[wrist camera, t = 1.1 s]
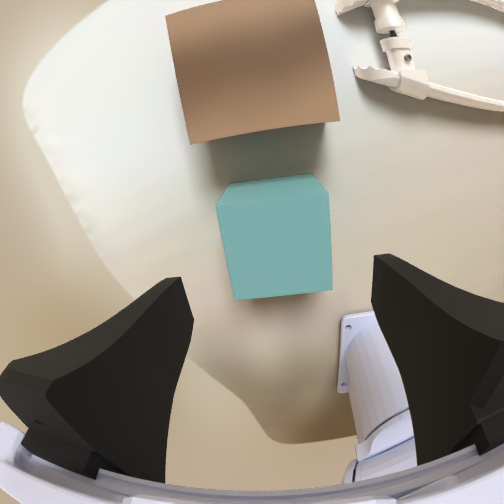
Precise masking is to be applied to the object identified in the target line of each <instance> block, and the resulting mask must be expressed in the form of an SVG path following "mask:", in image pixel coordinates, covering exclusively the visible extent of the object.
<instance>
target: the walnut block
mask: <svg viewBox="0 0 504 504" xmlns="http://www.w3.org/2000/svg"><path fill="white" fill-rule="evenodd" d="M165 17H166V23H167V29H168V35H169V40H170V46H171V51H172V57H173V62H174V67H175V73H176V78H177V83H178V88H179V93H180V98H181V103H182V108H183V112H184V117H185V122H186V127H187V131H188V136H189V141H190V145H192V144H197V143H201V142H206V141H210V140H215V139H220V138H225V137H230V136H235V135H240V134H245V133H251V132H257V131H263V130H269V129H276V128H283V127H290V126H298V125H306V124H315V123H324V122H335V121H340V117H339V110H338V104H337V98H336V93H335V87H334V82H333V76H332V71H331V66H330V61H329V57H328V52H327V48H326V43H325V39H324V35H323V31H322V27H321V23H320V19H319V15H318V11H317V8H316V4H315V0H222V1H218V2H213V3H209V4H205V5H201V6H197V7H193V8H190V9H186V10H183V11H179V12H176V13H173V14H170V15H167V16H165Z"/></svg>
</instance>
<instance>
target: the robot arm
mask: <svg viewBox="0 0 504 504" xmlns="http://www.w3.org/2000/svg"><path fill="white" fill-rule="evenodd" d="M371 303H372V306H373V310H374V311H370V312H363V313H356V314H349V315H345V316H344V317H343V318H342V320H341V339H340V357H339V371H338V384H337V391H338V393H341V394H342V393H349V398H350V403H351V408H352V413H353V418H354V423H355V428H356V433H357V438H358V441H359V444H358V445H356V446H355V449H356V454H357V459H355V460H353V461H351V462H350V463H349V464H348V466H347V468H346V471H345V474H344V476H343V479H342V483H341V484H339V485H332V486H325V487H316V488H307V489H295V490H278V491H232V490H215V489H203V488H193V487H185V486H177V485H171V484H165V465H166V449H167V437H168V429H169V421H170V414H171V409H172V403H173V397H174V392H175V389H176V386H177V382H178V379H179V376H180V373H181V370H182V367H183V363H184V360H185V357H186V354H187V351H188V348H189V345H190V341H191V336H192V330H193V323H194V318H193V315H192V312H191V309H190V305H189V302H188V299H187V296H186V293H185V289H184V286H183V283H182V279H181V277H173V278H166V279H164V280H162V281H160V282H159V283H157V284H156V285H155V286H153V287H152V288H151V289H149V290H148V291H147V292H145V293H144V294H143V295H141V296H140V297H139V298H137V299H136V300H135V301H134V302H132V303H131V304H130V305H128V306H127V307H126V308H124V309H123V310H121V311H120V312H118V313H117V314H116V315H114V316H113V317H111V318H110V319H109V320H107V321H106V322H104V323H102V324H101V325H99V326H97V327H96V328H94V329H92V330H91V331H89V332H87V333H85V334H83V335H81V336H79V337H77V338H75V339H73V340H71V341H69V342H67V343H65V344H62V345H60V346H57V347H55V348H52V349H50V350H47V351H44V352H42V353H38V354H35V355H32V356H28V357H24V358H21V359H17V360H13V361H11V362H10V363H9V364H8V366H7V367H6V368H5V370H4V371H3V372H2V374H1V375H0V396H1V398H2V399H3V400H4V402H5V403H6V404H7V405H8V406H9V408H10V409H11V410H12V411H13V412H14V413H15V414H16V415H17V416H18V418H19V419H20V420H21V421H22V422H23V423H24V424H25V425H26V426H27V427H28V428H29V429H28V431H27V432H26V434H25V433H24V432H22V431H21V430H19V429H18V428H16V427H13V426H12V425H10V424H8V423H6V422H1V424H0V488H1V489H3V490H4V491H5V492H6V493H8V494H9V495H10V496H12V497H13V498H15V499H16V500H17V501H19V502H20V503H21V504H504V303H501V302H497V301H494V300H491V299H487V298H484V297H481V296H478V295H475V294H472V293H469V292H467V291H464V290H462V289H459V288H457V287H455V286H452V285H450V284H448V283H446V282H444V281H442V280H440V279H438V278H436V277H434V276H432V275H430V274H428V273H426V272H424V271H422V270H420V269H419V268H417V267H415V266H413V265H411V264H409V263H408V262H406V261H404V260H402V259H400V258H398V257H396V256H394V255H391V254H382V255H374V265H373V282H372V296H371ZM347 325H350V326H349V327H346V326H347Z"/></svg>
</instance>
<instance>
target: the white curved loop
mask: <svg viewBox="0 0 504 504" xmlns="http://www.w3.org/2000/svg"><path fill="white" fill-rule="evenodd" d="M398 1H399V0H338V2H337V3H336V6H335V10H336V12H337V15H340V14H342V13H345V12H347V11H350V10H352V9H355V8H357V7H360V6H364V5H365V7H372V10H373V13H374V16H375V19H376V20H375V21H374V24H375V28H376V32H377V33H380V34H390V36H391V37H390V38H385V39H382V40H380V45H381V47H382V50H383V52H385V53H386V54H387V58H388V62H389V65H390V69H391V71H390V70H387V69H377V68H374V67H368V68H364V67H360V66H357V67H353V68H354V72H355V75H356V76H357V77H359V78H361V79H364V80H368V81H371V82H374V83H378V84H381V85H385V86H389V89H391V90H392V91H394V92H398V93H401V94H404V95H408V96H411V97H414V98H417V99H420V100H423V99H425V98H426V97H431V98H434V99H438V100H442V101H446V102H451V103H455V104H460V105H464V106H468V107H474V108H480V109H485V110H490V111H499V112H504V101H501V100H495V99H491V98H486V97H482V96H477V95H473V94H470V93H466V92H462V91H458V90H454V89H451V88H447V87H444V86H441V85H438V84H434V83H431V82H429V80H428V76H427V72H426V70H418V69H415V65H414V61H413V57H412V53H411V50H413V48H412V44H411V40H410V38H408V37H397V36H396V33H400V32H404V31H406V30H407V27H406V24H405V22H404V20H403V18H401V17H400V15H399V12H398V10H397V7H396V4H395V3H397V2H398ZM469 1H474V2H477V3H480V4H483V5H486V6H489V7H492V8H494V9H496V10H498V11H500V12H503V13H504V0H469Z"/></svg>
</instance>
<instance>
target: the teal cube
mask: <svg viewBox="0 0 504 504" xmlns="http://www.w3.org/2000/svg"><path fill="white" fill-rule="evenodd" d="M216 212H217V217H218V222H219V227H220V232H221V237H222V242H223V246H224V251H225V256H226V261H227V266H228V270H229V275H230V280H231V284H232V289H233V294H234V298H235V300H244V299H254V298H265V297H275V296H284V295H294V294H303V293H311V292H320V291H328V290H332V251H331V228H330V211H329V196H328V192H327V191H326V189H325V188H324V187H323V186H322V184H321V183H320V182H319V181H318V179H317V178H316V177H315V176H314V174H313V173H309V174H299V175H290V176H281V177H273V178H265V179H257V180H249V181H242V182H235V183H229V185H228V186H227V188H226V190H225V191H224V193H223V195H222V197H221V198H220V200H219V202H218V203H217V205H216Z"/></svg>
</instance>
